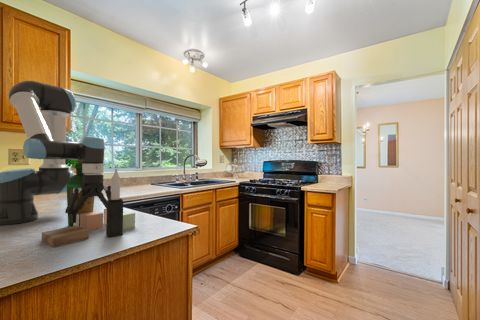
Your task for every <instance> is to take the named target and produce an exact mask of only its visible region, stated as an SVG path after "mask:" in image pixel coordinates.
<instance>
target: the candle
mask: <svg viewBox="0 0 480 320" xmlns="http://www.w3.org/2000/svg"><path fill="white" fill-rule="evenodd" d="M118 173H119V172H118V169H117V168H115V169H114V172H113V175H112V176H111V182H110V183H111V184H110V186H111V199H108V198H107V225H106V232H105V234H106V237H107V238H116V237H120V236H122V235H124V234H123V212H124V200H123V198H122V197H121V176H120V175H119V174H118Z"/></svg>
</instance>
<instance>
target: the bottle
mask: <svg viewBox="0 0 480 320" xmlns="http://www.w3.org/2000/svg"><path fill="white" fill-rule="evenodd" d="M82 164H86V163H82V160H77V162H75V165H74V169H75V173H76V174H73V176H72V177H70V178H69V179H68V180H67V182H66V185H67V192H66V204H67V205H66V207H67V206H68V203H69V201H70V198H71V196H72V189H73V188H81V186H82V176H83V175H84V173H82ZM82 194H83V192H82V191H80V193H79V194H78V197H77V200H76V202H75V205H76V204H77V202H78V201H79V199H80V198H81V195H82ZM75 205H74V206H75ZM94 206H95V196H93V197H88V199H86V201H85V202H84V204H83V205H82V207H81V208H80V210H79V211H78V213H77V214H79V227H80V214H82V213H88V212H94ZM73 224H74V223H71V214H67V227H71V226H73Z"/></svg>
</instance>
